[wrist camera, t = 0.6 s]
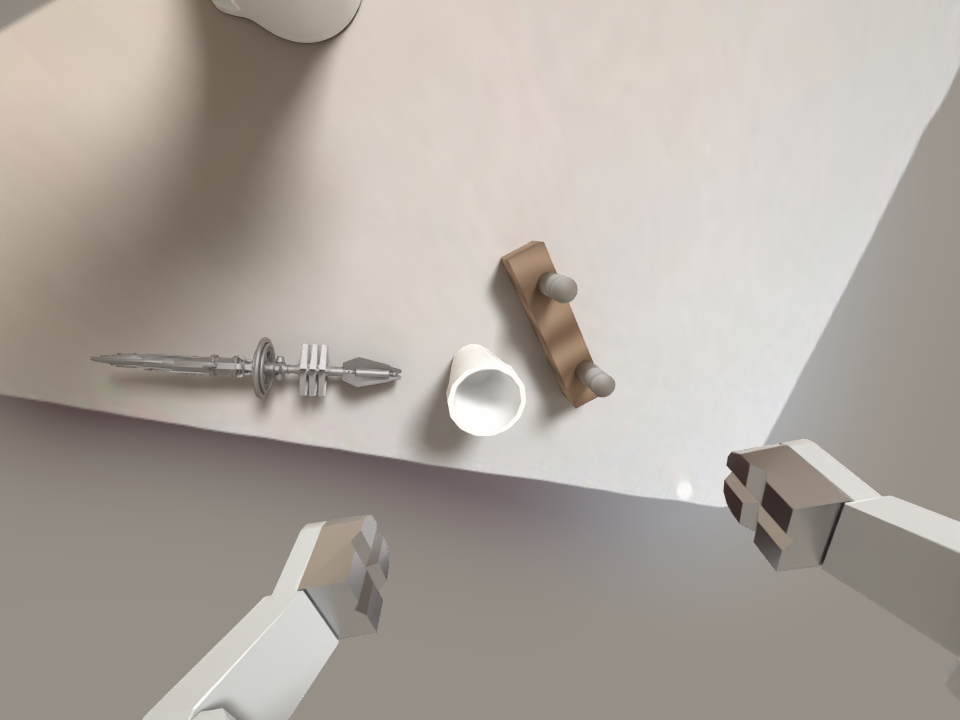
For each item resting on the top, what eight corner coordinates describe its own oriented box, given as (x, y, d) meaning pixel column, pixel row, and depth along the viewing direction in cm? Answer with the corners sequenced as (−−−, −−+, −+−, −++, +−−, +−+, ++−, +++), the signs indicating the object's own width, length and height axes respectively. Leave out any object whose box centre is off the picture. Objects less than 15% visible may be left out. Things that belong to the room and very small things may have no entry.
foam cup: (506, 335, 56) (530, 365, 44) (500, 392, 59) (521, 435, 47) (442, 333, 55) (449, 363, 42) (439, 392, 57) (445, 436, 45)
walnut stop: (500, 257, 52) (520, 265, 42) (532, 240, 52) (560, 244, 42) (563, 394, 61) (593, 428, 51) (591, 380, 61) (626, 411, 51)
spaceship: (68, 320, 40) (60, 395, 39) (405, 344, 50) (401, 404, 49) (116, 329, 47) (109, 392, 47) (399, 348, 57) (396, 400, 57)
